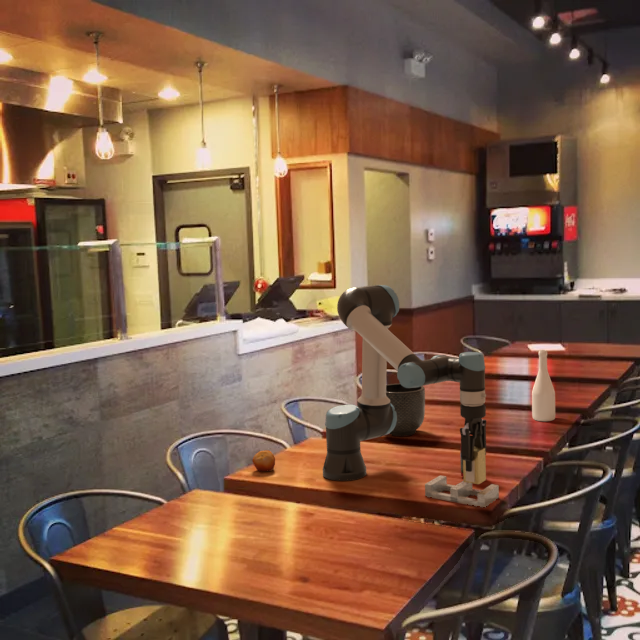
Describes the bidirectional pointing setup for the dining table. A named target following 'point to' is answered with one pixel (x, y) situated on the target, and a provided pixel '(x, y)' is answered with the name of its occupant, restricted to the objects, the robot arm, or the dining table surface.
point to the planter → (407, 408)
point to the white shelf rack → (461, 492)
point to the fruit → (264, 460)
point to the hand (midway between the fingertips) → (474, 478)
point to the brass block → (477, 466)
